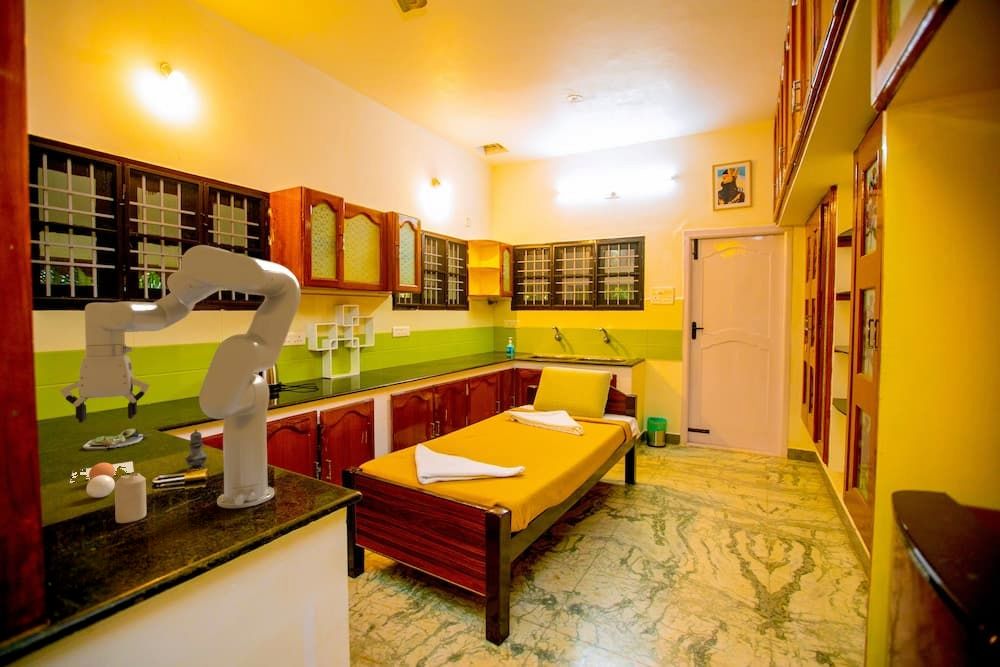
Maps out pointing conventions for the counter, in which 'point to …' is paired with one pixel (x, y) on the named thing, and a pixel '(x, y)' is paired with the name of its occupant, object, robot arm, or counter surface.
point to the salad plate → (116, 440)
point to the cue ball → (100, 486)
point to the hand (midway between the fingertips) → (107, 419)
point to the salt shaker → (196, 452)
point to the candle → (130, 498)
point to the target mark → (127, 464)
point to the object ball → (102, 470)
